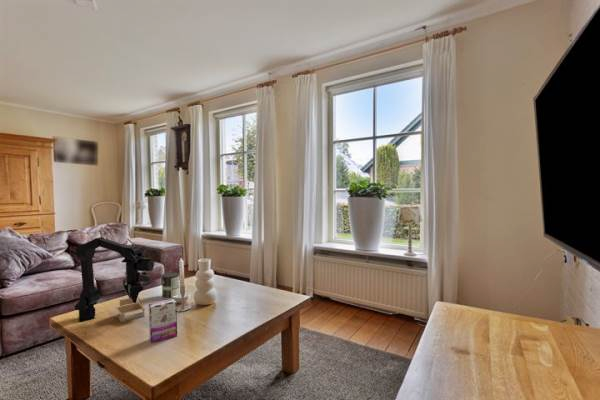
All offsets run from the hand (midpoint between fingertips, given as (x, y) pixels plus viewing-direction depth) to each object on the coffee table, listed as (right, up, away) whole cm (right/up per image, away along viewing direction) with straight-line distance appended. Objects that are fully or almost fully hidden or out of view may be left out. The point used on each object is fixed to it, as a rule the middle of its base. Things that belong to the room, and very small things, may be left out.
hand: (132, 300), depth 151 cm
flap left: (-8, -5, +9) cm, 13 cm away
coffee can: (+5, -9, +34) cm, 36 cm away
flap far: (0, -5, +8) cm, 10 cm away
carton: (-4, -10, +2) cm, 11 cm away
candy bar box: (+25, -11, -18) cm, 32 cm away
